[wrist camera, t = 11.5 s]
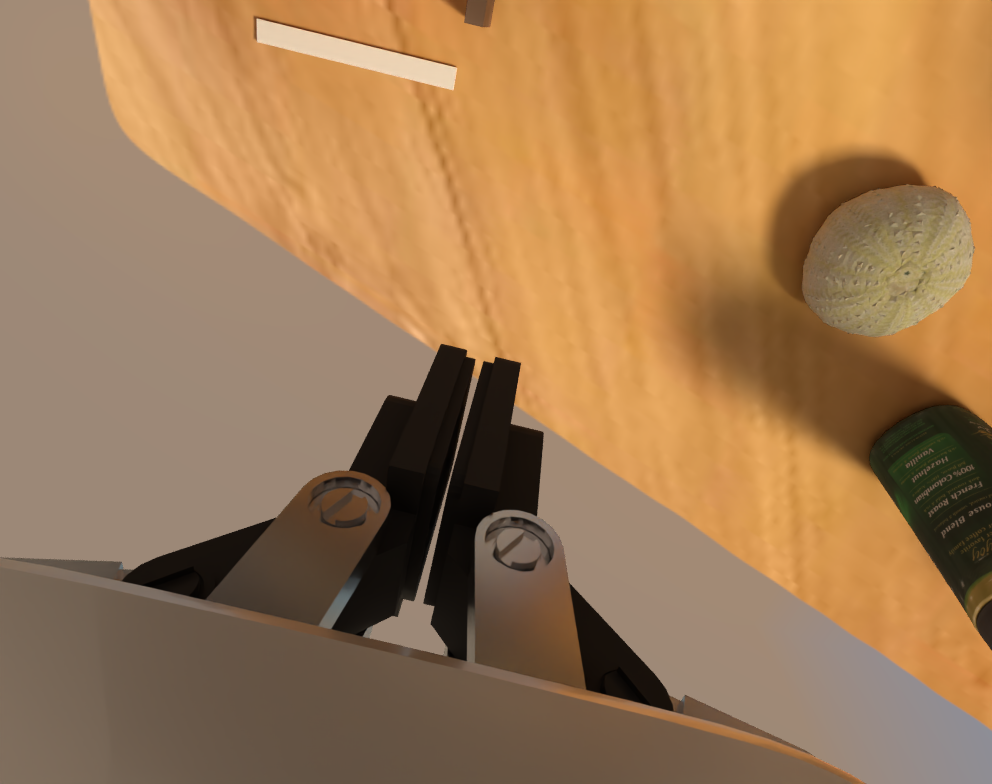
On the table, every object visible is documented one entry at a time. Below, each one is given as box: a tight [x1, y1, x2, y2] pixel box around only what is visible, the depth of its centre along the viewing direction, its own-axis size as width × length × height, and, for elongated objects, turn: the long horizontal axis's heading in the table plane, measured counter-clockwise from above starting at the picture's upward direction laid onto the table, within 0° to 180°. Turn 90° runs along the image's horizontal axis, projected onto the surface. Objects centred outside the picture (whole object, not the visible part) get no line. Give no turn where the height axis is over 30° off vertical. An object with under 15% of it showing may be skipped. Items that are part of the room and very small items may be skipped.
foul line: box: [257, 19, 457, 90], centre depth 35 cm, size 1×12×1 cm, turn 79°
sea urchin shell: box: [802, 184, 975, 337], centre depth 36 cm, size 9×8×8 cm
